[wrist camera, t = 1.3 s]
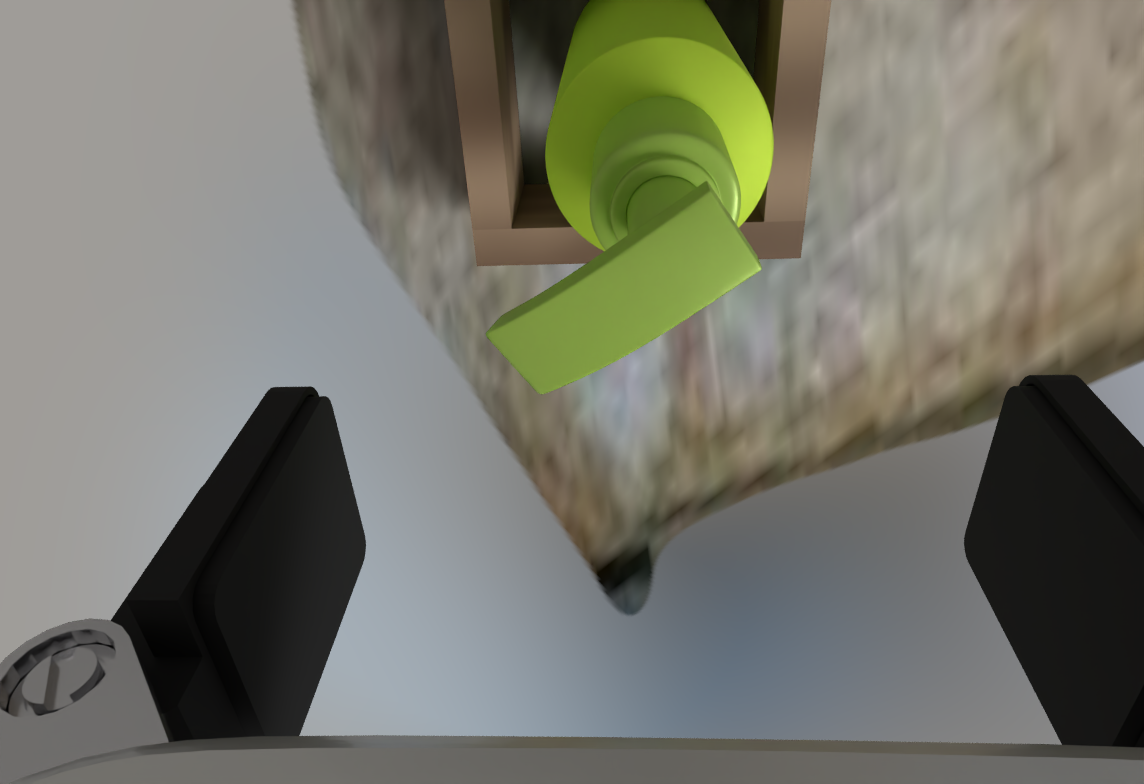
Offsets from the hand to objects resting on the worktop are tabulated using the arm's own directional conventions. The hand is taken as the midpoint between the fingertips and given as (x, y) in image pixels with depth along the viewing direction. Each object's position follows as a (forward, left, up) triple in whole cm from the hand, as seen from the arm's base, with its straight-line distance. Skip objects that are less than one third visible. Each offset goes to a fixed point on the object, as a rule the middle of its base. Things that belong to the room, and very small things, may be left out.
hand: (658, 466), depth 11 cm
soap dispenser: (0, 0, -25) cm, 25 cm away
